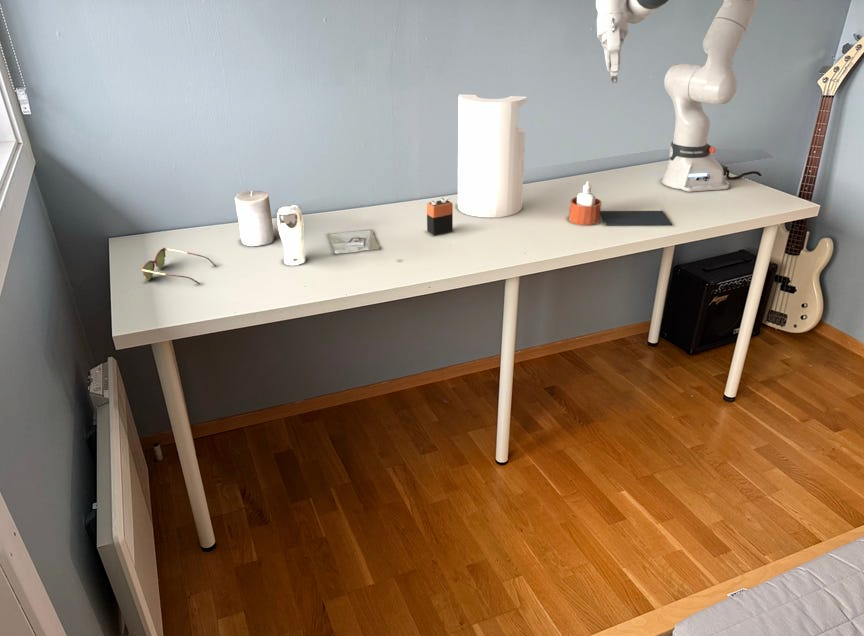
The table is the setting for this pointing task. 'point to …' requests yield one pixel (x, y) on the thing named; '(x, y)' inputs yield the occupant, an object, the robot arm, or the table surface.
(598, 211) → the cup
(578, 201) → the eye dropper bottle
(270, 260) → the table surface
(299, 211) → the white handheld device
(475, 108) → the white curved half cylinder
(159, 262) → the sunglasses
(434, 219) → the battery
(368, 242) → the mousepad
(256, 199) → the pillar candle
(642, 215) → the mat
